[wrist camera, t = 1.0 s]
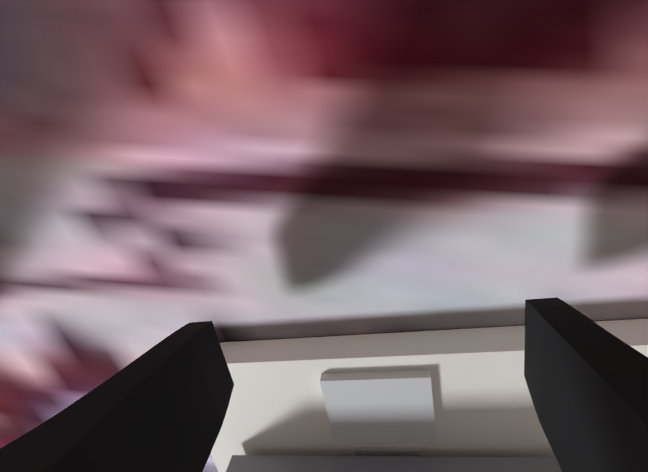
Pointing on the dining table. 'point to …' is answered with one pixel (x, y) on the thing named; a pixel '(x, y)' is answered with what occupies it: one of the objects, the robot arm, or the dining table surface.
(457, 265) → the dining table surface
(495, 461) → the slider
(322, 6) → the dining table surface
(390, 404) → the switch board
